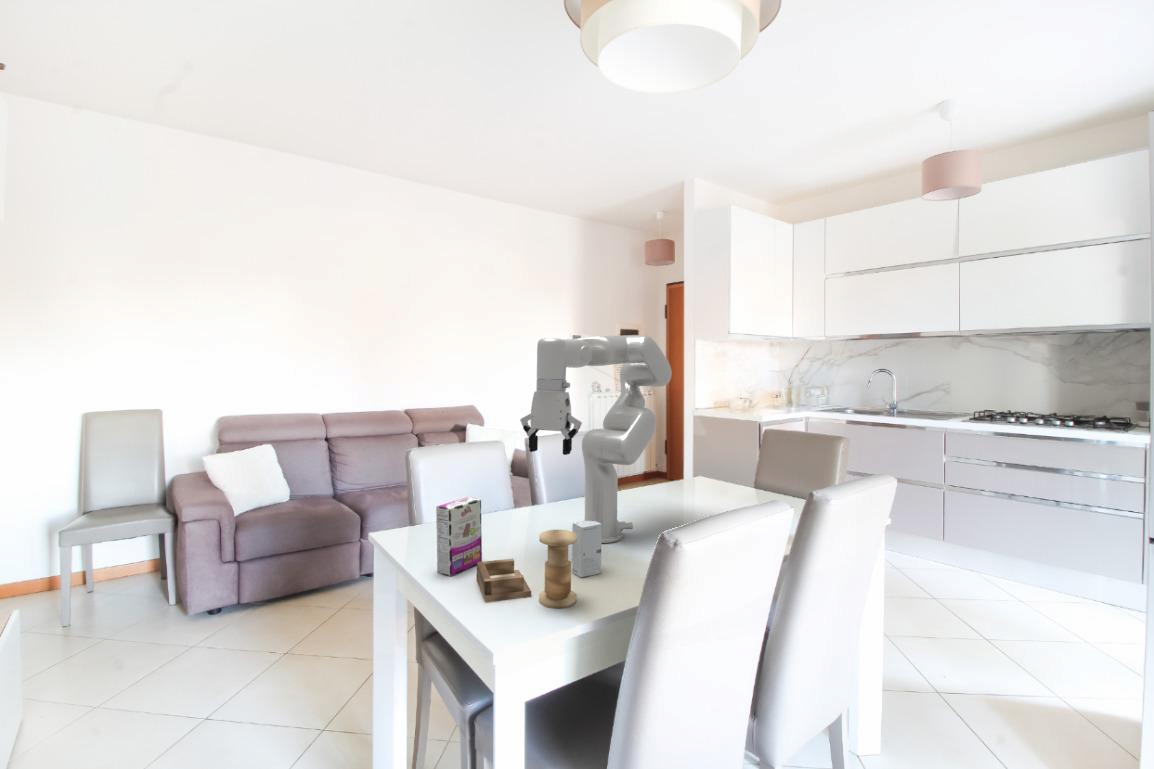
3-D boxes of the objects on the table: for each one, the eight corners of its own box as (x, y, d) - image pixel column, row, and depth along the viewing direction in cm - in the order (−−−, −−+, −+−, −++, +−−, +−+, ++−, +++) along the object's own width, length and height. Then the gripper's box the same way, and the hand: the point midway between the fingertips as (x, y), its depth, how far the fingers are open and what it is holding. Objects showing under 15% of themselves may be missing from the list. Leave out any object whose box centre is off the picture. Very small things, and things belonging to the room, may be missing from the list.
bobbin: (570, 590, 123) (570, 528, 122) (581, 605, 115) (581, 539, 115) (535, 594, 120) (535, 531, 120) (544, 610, 113) (544, 542, 112)
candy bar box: (467, 559, 142) (467, 496, 142) (482, 563, 139) (482, 498, 139) (435, 573, 133) (435, 505, 132) (450, 577, 130) (450, 508, 129)
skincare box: (581, 578, 130) (581, 527, 130) (570, 572, 134) (571, 522, 133) (602, 573, 133) (602, 523, 133) (591, 567, 137) (592, 519, 137)
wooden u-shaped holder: (518, 574, 132) (518, 557, 132) (531, 596, 120) (531, 577, 120) (476, 579, 129) (476, 561, 129) (484, 602, 117) (484, 582, 116)
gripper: (587, 387, 142) (586, 453, 142) (529, 385, 149) (528, 448, 150) (575, 387, 135) (573, 457, 135) (514, 385, 142) (513, 451, 143)
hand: (549, 452), depth 142 cm, fingers open, 9 cm apart
